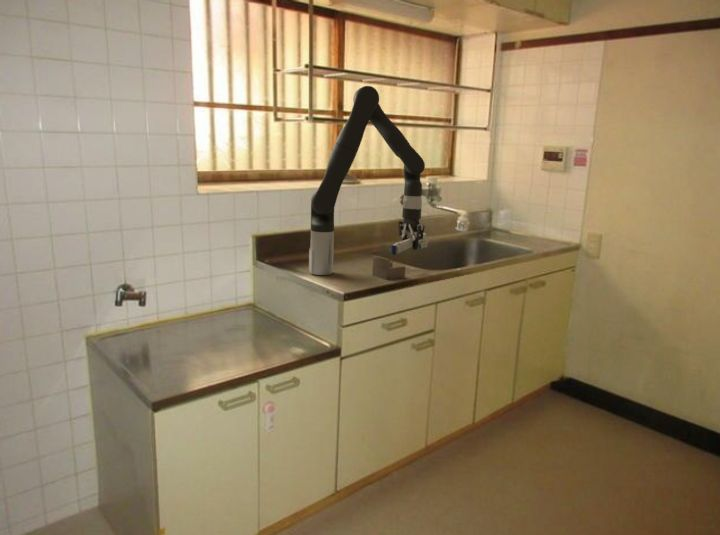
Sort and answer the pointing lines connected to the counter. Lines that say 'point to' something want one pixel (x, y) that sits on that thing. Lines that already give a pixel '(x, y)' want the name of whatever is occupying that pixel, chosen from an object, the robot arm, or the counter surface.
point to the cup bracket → (386, 269)
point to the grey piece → (407, 245)
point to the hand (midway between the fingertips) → (409, 248)
